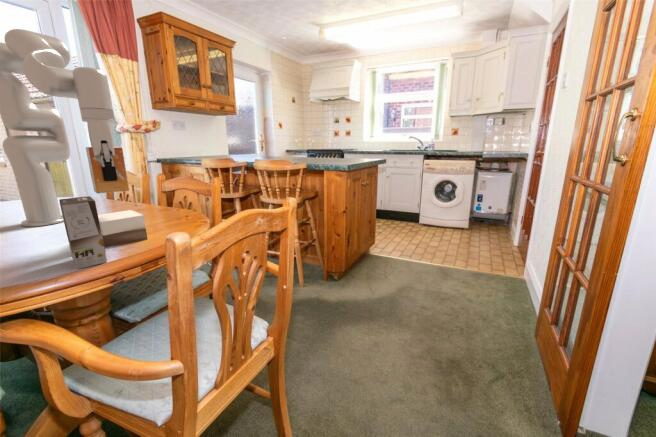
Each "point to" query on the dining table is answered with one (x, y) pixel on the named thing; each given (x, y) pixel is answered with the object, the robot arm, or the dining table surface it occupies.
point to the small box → (97, 174)
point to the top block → (120, 222)
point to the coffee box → (83, 231)
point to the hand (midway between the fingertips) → (109, 179)
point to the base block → (125, 237)
